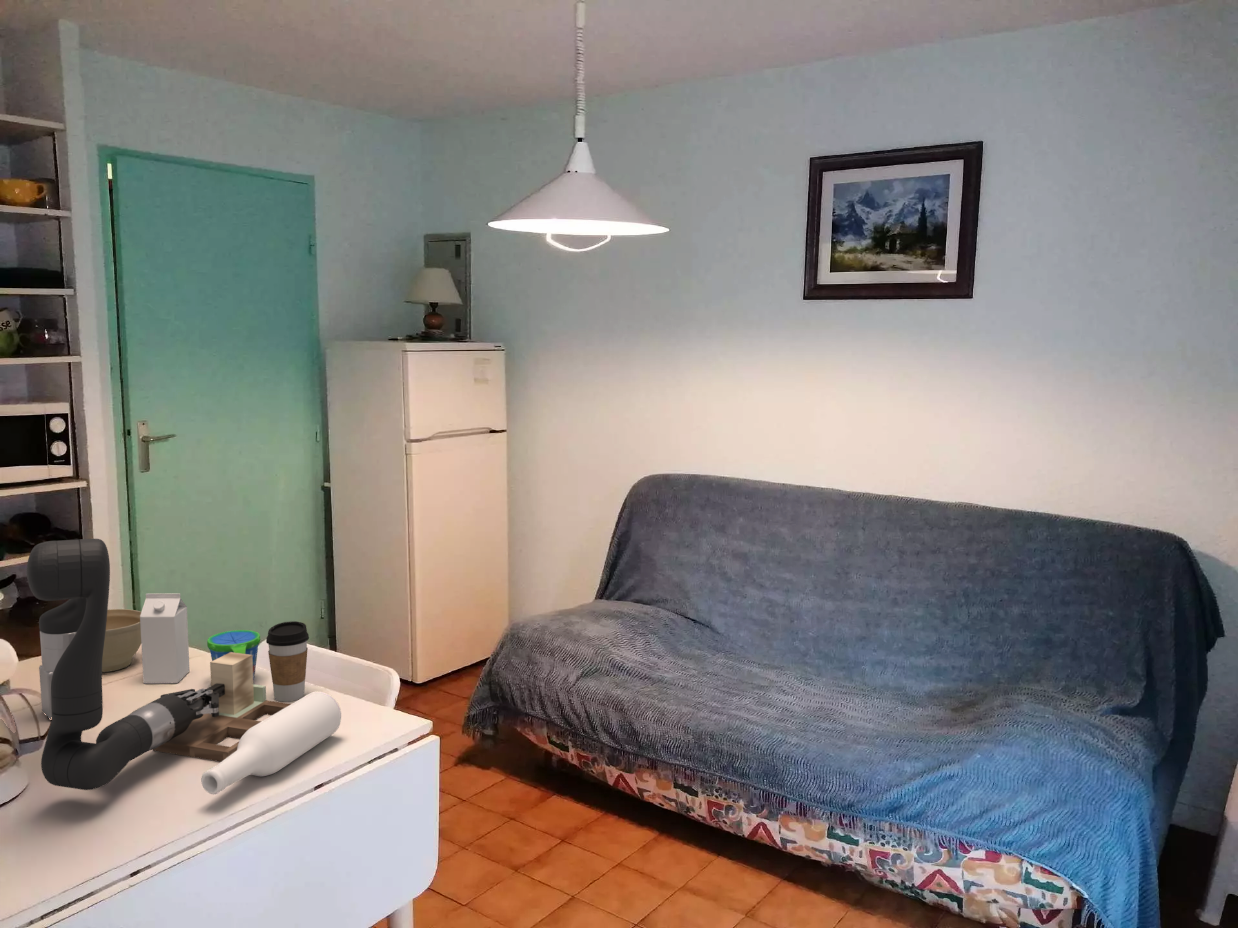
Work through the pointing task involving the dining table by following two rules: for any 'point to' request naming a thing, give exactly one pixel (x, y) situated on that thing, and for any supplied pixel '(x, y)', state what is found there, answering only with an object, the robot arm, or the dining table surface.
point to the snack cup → (234, 644)
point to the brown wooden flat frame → (217, 733)
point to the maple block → (234, 681)
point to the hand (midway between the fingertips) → (221, 688)
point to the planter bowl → (121, 638)
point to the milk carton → (164, 638)
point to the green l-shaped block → (258, 699)
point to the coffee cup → (288, 659)
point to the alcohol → (277, 741)
